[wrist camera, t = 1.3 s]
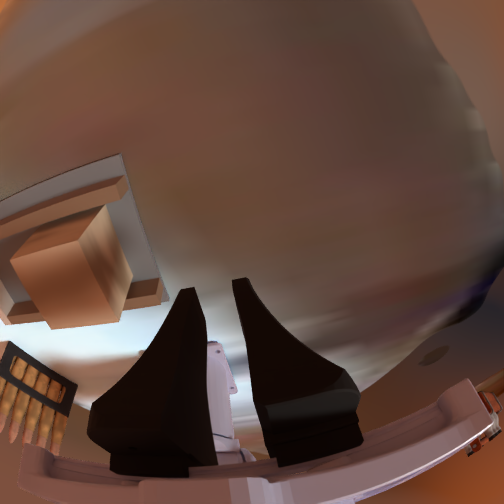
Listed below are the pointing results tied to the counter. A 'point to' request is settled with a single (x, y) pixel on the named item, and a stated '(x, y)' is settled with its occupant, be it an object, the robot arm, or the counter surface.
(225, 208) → the counter surface
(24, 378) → the ammunition clip
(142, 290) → the bay
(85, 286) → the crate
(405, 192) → the counter surface
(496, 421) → the milk bottle holder
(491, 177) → the counter surface
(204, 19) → the counter surface
